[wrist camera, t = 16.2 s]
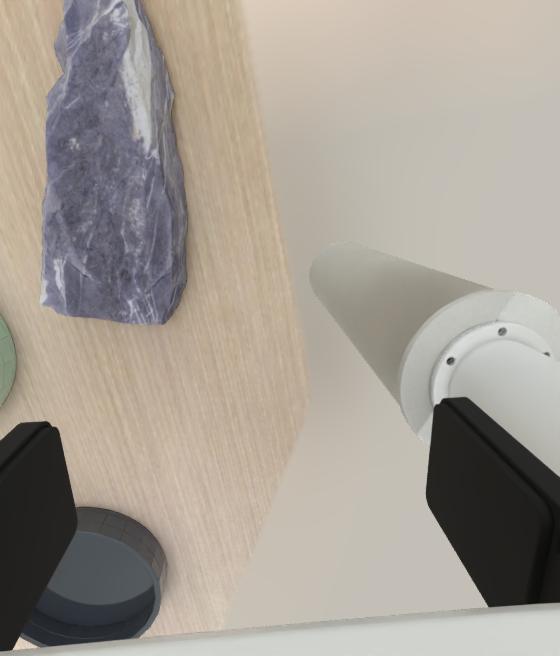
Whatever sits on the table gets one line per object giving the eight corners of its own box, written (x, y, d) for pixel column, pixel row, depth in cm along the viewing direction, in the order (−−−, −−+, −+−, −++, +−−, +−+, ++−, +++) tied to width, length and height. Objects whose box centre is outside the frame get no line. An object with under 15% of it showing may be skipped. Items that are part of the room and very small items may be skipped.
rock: (183, 318, 36) (173, 335, 31) (58, 302, 34) (26, 318, 29) (212, -10, 29) (204, -56, 24) (57, -44, 28) (15, -98, 23)
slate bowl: (191, 539, 43) (187, 564, 39) (132, 641, 46) (124, 671, 43) (41, 484, 39) (24, 507, 36) (-10, 598, 43) (-30, 628, 40)
